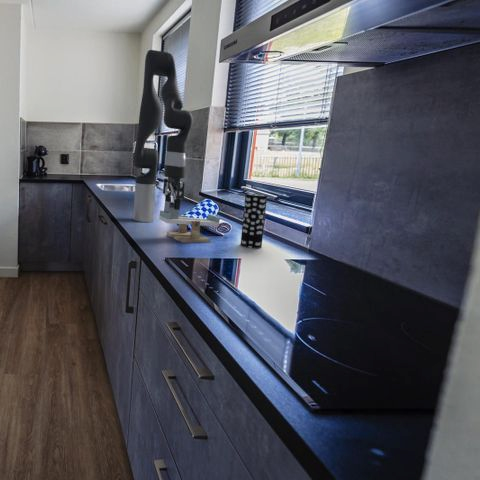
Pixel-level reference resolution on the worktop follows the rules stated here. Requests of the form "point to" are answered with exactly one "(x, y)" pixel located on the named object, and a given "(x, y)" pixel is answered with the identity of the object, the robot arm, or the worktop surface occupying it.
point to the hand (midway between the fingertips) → (172, 207)
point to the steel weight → (171, 210)
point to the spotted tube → (253, 220)
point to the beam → (189, 219)
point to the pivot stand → (188, 233)
